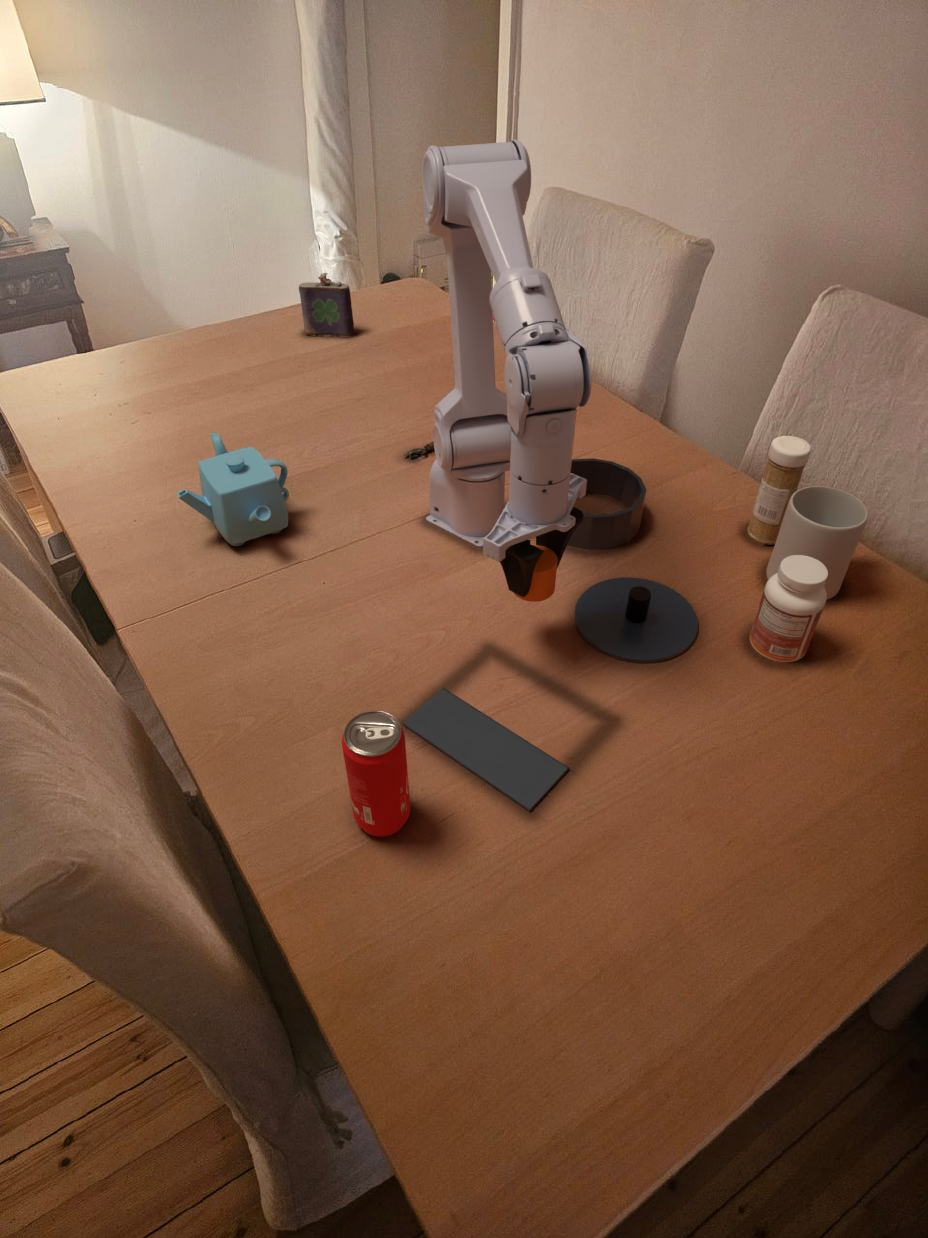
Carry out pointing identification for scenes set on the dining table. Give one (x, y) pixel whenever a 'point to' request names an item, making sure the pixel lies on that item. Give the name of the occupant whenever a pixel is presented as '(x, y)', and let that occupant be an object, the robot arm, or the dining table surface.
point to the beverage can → (377, 772)
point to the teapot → (240, 493)
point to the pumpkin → (543, 577)
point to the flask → (326, 308)
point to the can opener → (420, 450)
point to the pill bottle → (790, 609)
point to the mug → (821, 531)
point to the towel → (486, 748)
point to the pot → (616, 484)
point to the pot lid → (636, 620)
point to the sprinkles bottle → (778, 486)
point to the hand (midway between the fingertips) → (532, 579)
